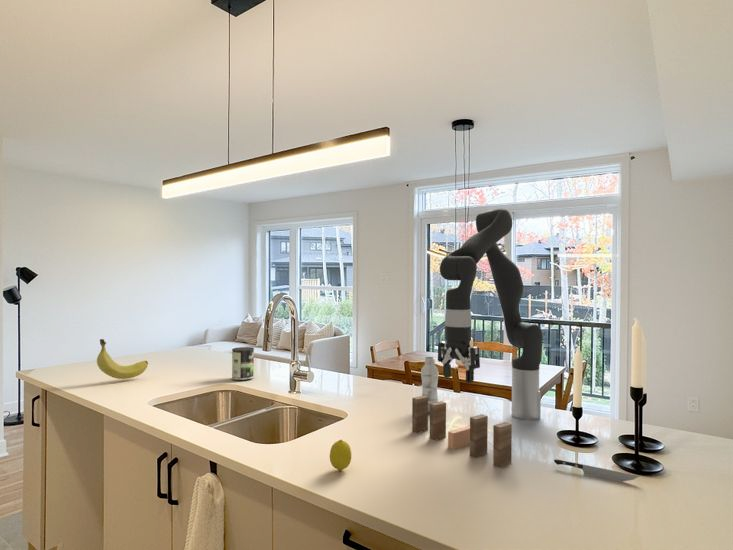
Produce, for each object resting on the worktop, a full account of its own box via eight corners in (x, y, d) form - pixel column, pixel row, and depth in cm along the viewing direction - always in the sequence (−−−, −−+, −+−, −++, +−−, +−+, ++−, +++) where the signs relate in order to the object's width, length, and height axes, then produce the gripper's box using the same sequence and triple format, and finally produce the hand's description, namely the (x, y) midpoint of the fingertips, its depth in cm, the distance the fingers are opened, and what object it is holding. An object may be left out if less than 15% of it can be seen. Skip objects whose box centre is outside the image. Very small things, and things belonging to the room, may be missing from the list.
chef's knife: (640, 488, 106) (640, 475, 106) (640, 490, 106) (640, 477, 106) (554, 469, 116) (554, 458, 116) (553, 471, 115) (553, 459, 115)
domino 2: (445, 438, 138) (446, 402, 138) (434, 441, 135) (434, 405, 135) (441, 436, 140) (441, 401, 140) (429, 439, 137) (429, 403, 137)
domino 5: (511, 465, 119) (511, 423, 119) (499, 469, 116) (499, 427, 116) (505, 462, 120) (505, 421, 120) (493, 467, 118) (493, 425, 118)
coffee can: (256, 375, 224) (256, 347, 224) (250, 380, 213) (250, 350, 213) (235, 375, 224) (235, 346, 224) (228, 379, 213) (229, 350, 213)
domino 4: (487, 455, 125) (487, 416, 125) (475, 459, 122) (475, 419, 122) (481, 453, 127) (481, 414, 127) (469, 457, 124) (470, 417, 124)
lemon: (343, 477, 111) (343, 445, 111) (325, 472, 113) (325, 440, 113) (355, 469, 115) (355, 438, 115) (338, 464, 118) (338, 434, 118)
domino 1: (427, 430, 145) (428, 396, 145) (416, 434, 142) (416, 399, 142) (423, 429, 146) (423, 395, 146) (412, 432, 144) (412, 397, 144)
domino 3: (453, 450, 129) (478, 442, 135) (453, 433, 129) (478, 426, 135) (448, 448, 130) (473, 440, 137) (448, 431, 131) (473, 424, 137)
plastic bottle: (438, 415, 161) (438, 359, 161) (419, 413, 163) (420, 358, 163) (439, 410, 168) (439, 356, 168) (421, 408, 169) (421, 355, 169)
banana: (145, 374, 224) (145, 334, 224) (150, 375, 220) (150, 335, 220) (94, 382, 207) (95, 338, 207) (99, 384, 203) (100, 339, 203)
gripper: (485, 326, 128) (485, 382, 128) (449, 321, 139) (449, 373, 139) (468, 327, 123) (468, 386, 123) (431, 323, 135) (431, 377, 135)
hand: (458, 379), depth 131 cm, fingers open, 8 cm apart
